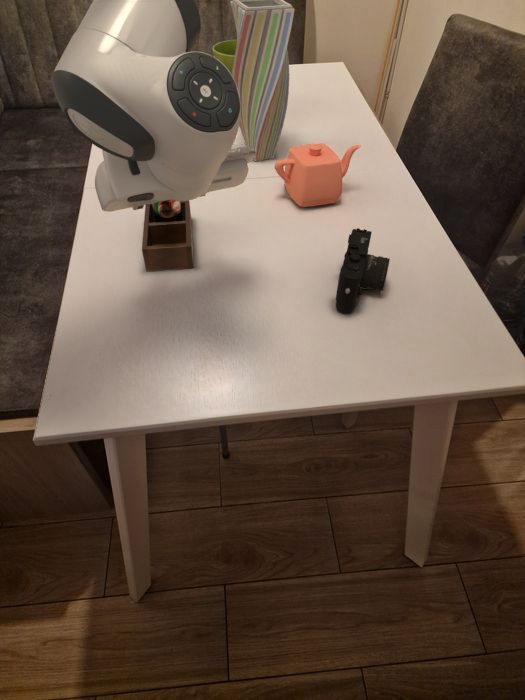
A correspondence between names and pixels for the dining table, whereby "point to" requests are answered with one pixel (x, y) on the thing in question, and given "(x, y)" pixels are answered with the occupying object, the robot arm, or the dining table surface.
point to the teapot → (314, 173)
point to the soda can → (167, 211)
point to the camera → (359, 271)
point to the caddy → (167, 241)
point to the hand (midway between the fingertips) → (167, 197)
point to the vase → (262, 71)
